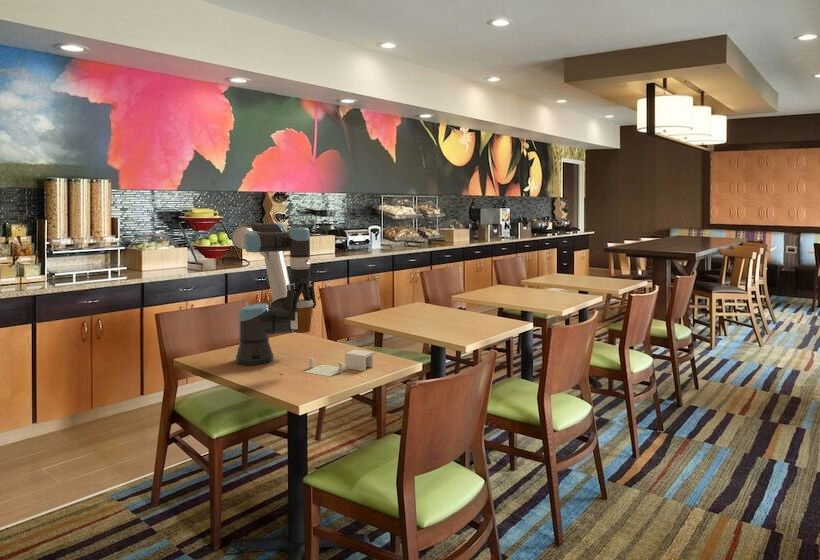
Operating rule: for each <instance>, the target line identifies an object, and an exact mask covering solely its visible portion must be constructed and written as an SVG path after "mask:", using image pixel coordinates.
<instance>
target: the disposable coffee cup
mask: <svg viewBox="0 0 820 560" xmlns="http://www.w3.org/2000/svg"><path fill="white" fill-rule="evenodd" d="M313 304H314V303H313V301H312V300H310V301H308V300H304V298H299V300H298V302H297V305H296V312H297V319H298V329H293V331H294V333H295V334H296V333H297V334H304V333H306V334H307V333H310V332H311V326H312V325H311V317H312V318H313V315H312V307H313Z"/></svg>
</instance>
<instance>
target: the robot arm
mask: <svg viewBox="0 0 820 560" xmlns="http://www.w3.org/2000/svg"><path fill="white" fill-rule="evenodd" d="M230 238H231V242H232V244H233V245H234V246H235V247H236V248H239V249H241V250H245V252H247V253H253V254H254V253H255V254H256V253H259V254H260V255H261V256H262V257H263V258H264V263H265V267H266V269H265V270H266V272H267V279H268V283H269V288H270V293H271V297H272V298H271V299H272V301H271V303H270V304H268V303H266V302H262V303H253V304H248V305H245V306H242V307H241V308H240V310H239V311H238V312H239V313H238V322H239V323H238V324H239V325H238V328H239V345H238V349H237V353H236V355H235V363H236V364H238V365H241V366H261V365H267V364H270V363H273V361H274V360H275V359H274V356H275V355H274V352H273V350H272V347H271V344H270V336H271V335H282V334H284V335H286V334H294V333H295V332H294V331H293V329H298V319H297V312H296V305H297V302H298V300H299V299H300V296H301V295H302V296H303V299H304V300H308V301H310V300H312V301H313V303H314V304H313V307H312V317H311V326H313V315H314V314H313V313H314V312H313V311H314V310H313V309H315V308H316V306H317V299H316V292H315V281H310V279H311V276H312V275H311V269H310V268H311V235H310V229H309V228H308V227H291V228H289V231H287V228H286V227H285V225H284V224H283V223H280V222H270V223H244V224H241V225H239V226H237V227H236V228H234V230H233V231H232V233H231V237H230ZM285 252H289V267H290V270H289V271H290V277H289V273H288V268H287V267H288V266H287V264H286V259H285V254H284V253H285ZM290 278H291V279H292V282H290V281H291V280H290Z"/></svg>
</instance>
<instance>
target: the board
mask: <svg viewBox="0 0 820 560" xmlns="http://www.w3.org/2000/svg"><path fill="white" fill-rule="evenodd" d="M314 360H315V359H314V357H309V360H308V361H309V369H308V370H305V371H304V373H305V374H313V375H319V376H325V377H333V376H334V375H336V374H343V373H344V371H345V370H349V369H348V368H345V367H344V363H343V362H338V366H334V365H328V364H321V365H318V366H314V362H315V361H314Z"/></svg>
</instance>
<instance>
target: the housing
mask: <svg viewBox="0 0 820 560" xmlns="http://www.w3.org/2000/svg"><path fill="white" fill-rule="evenodd" d="M344 355H345V356H344V365H345V366H344V368H348V369H347V370H349V369H350V370H356V371H362V372H366V371H367V368H374V352H373V351H369V350H361V349H352V350H349V351H347V352H345V354H344Z"/></svg>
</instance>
